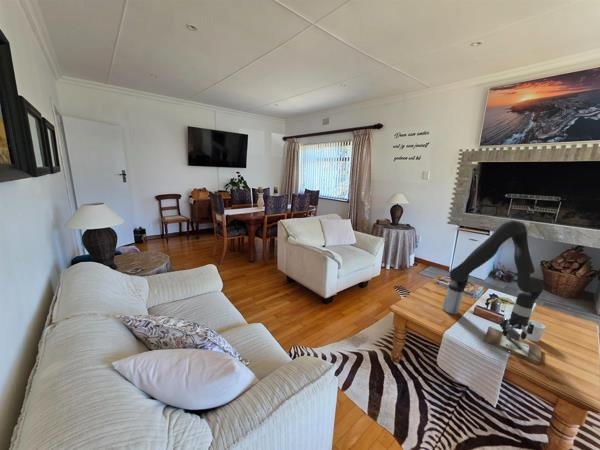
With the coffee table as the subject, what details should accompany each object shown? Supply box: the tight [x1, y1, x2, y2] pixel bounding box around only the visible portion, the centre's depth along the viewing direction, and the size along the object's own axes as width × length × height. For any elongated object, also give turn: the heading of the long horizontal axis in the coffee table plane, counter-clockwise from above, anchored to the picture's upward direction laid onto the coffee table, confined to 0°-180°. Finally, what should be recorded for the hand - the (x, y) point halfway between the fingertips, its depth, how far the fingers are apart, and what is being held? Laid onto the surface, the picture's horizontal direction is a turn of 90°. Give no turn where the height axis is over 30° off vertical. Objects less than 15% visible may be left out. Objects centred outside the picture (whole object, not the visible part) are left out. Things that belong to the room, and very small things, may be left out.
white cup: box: [525, 319, 546, 343], centre depth 146 cm, size 8×8×10 cm
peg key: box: [501, 327, 522, 349], centre depth 140 cm, size 14×2×7 cm, turn 178°
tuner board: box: [483, 326, 542, 366], centre depth 140 cm, size 24×16×2 cm, turn 46°
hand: (513, 337), depth 138 cm, fingers open, 8 cm apart
